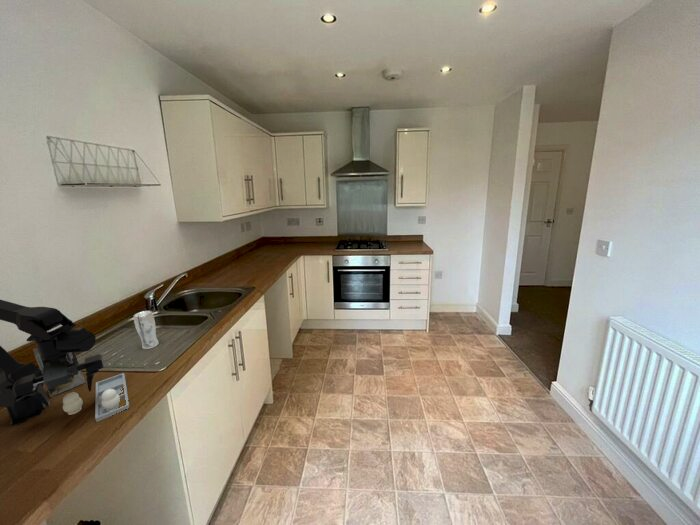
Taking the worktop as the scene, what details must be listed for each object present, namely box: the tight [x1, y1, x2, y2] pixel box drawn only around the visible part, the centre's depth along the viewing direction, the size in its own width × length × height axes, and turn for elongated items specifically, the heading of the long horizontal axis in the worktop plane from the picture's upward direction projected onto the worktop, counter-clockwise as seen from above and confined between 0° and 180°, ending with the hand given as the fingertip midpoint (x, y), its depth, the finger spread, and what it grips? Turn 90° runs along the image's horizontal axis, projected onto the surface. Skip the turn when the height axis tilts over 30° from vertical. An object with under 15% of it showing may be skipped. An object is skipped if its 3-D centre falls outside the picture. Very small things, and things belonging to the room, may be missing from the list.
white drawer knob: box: [101, 389, 120, 412], centre depth 88 cm, size 4×4×6 cm
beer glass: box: [133, 310, 160, 350], centre depth 124 cm, size 7×7×15 cm
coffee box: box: [32, 347, 86, 398], centre depth 99 cm, size 9×6×16 cm
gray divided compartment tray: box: [94, 372, 130, 423], centre depth 94 cm, size 8×22×2 cm, turn 40°
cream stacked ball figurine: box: [62, 391, 84, 416], centre depth 88 cm, size 4×4×6 cm
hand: (70, 398), depth 88 cm, fingers open, 9 cm apart
